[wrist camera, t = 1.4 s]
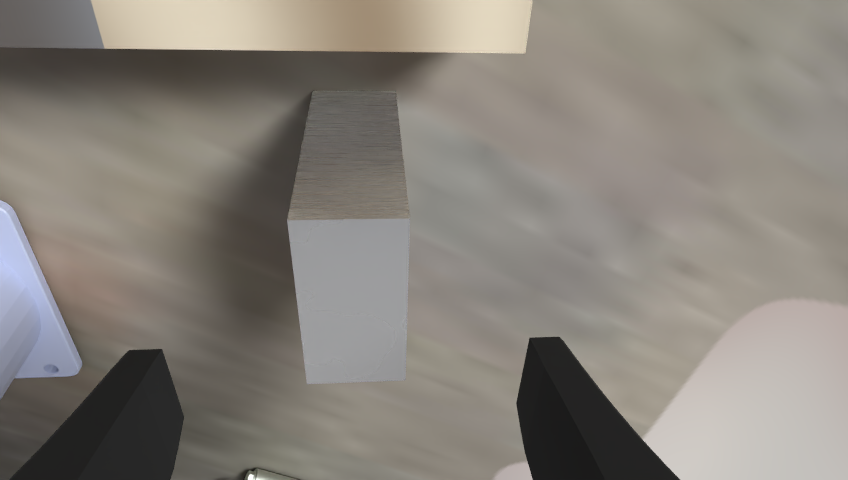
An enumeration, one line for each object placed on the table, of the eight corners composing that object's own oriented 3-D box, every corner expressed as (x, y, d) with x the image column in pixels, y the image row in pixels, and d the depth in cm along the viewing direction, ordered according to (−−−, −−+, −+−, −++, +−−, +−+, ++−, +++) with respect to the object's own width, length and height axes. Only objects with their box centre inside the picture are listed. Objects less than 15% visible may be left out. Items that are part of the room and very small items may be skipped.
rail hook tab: (323, 227, 20) (306, 384, 15) (312, 90, 17) (286, 220, 12) (394, 226, 21) (405, 380, 15) (395, 91, 18) (409, 218, 12)
